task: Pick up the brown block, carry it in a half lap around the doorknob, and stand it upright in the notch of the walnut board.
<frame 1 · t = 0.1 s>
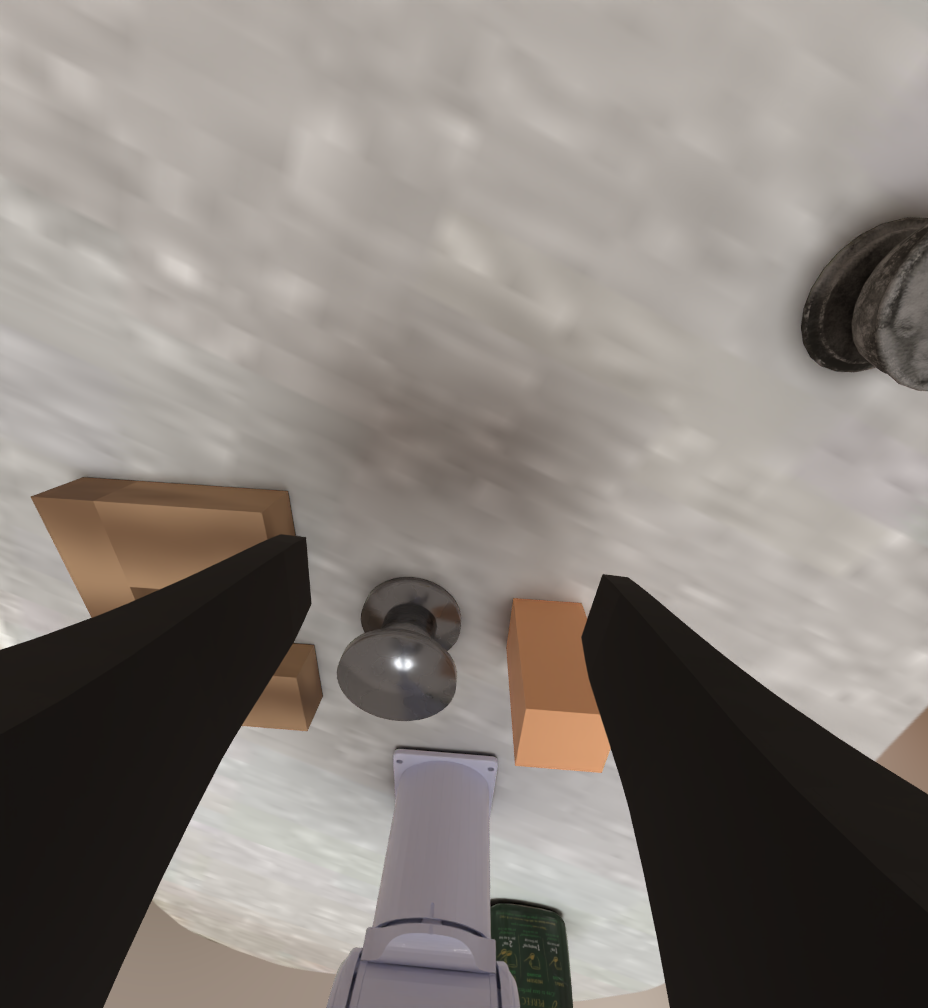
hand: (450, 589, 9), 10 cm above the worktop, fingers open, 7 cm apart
notched board: (220, 602, 23), on the worktop
brown block: (542, 626, 22), on the worktop
salt shaker: (870, 301, 15), on the worktop
doorknob: (412, 617, 23), on the worktop
coffee jar: (518, 913, 41), on the worktop
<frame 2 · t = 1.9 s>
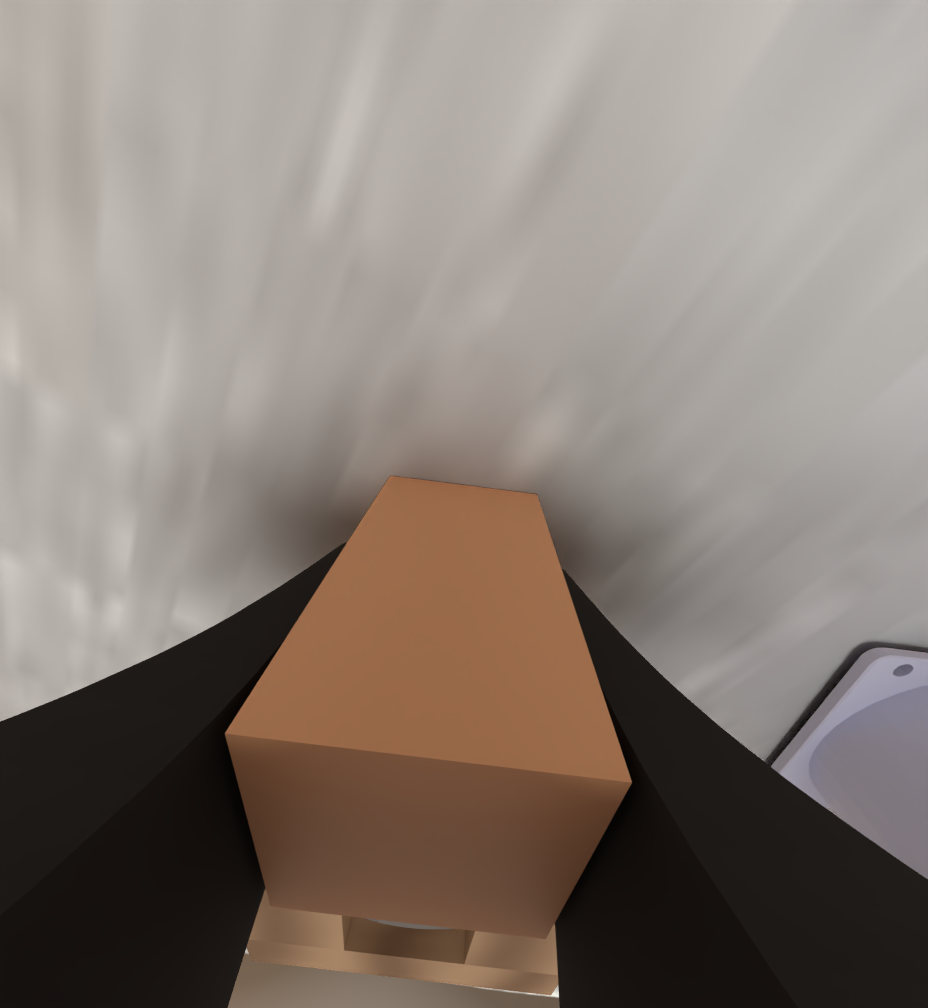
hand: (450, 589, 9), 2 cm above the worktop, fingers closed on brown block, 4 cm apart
notched board: (415, 867, 19), on the worktop
brown block: (455, 547, 11), on the worktop, touching gripper
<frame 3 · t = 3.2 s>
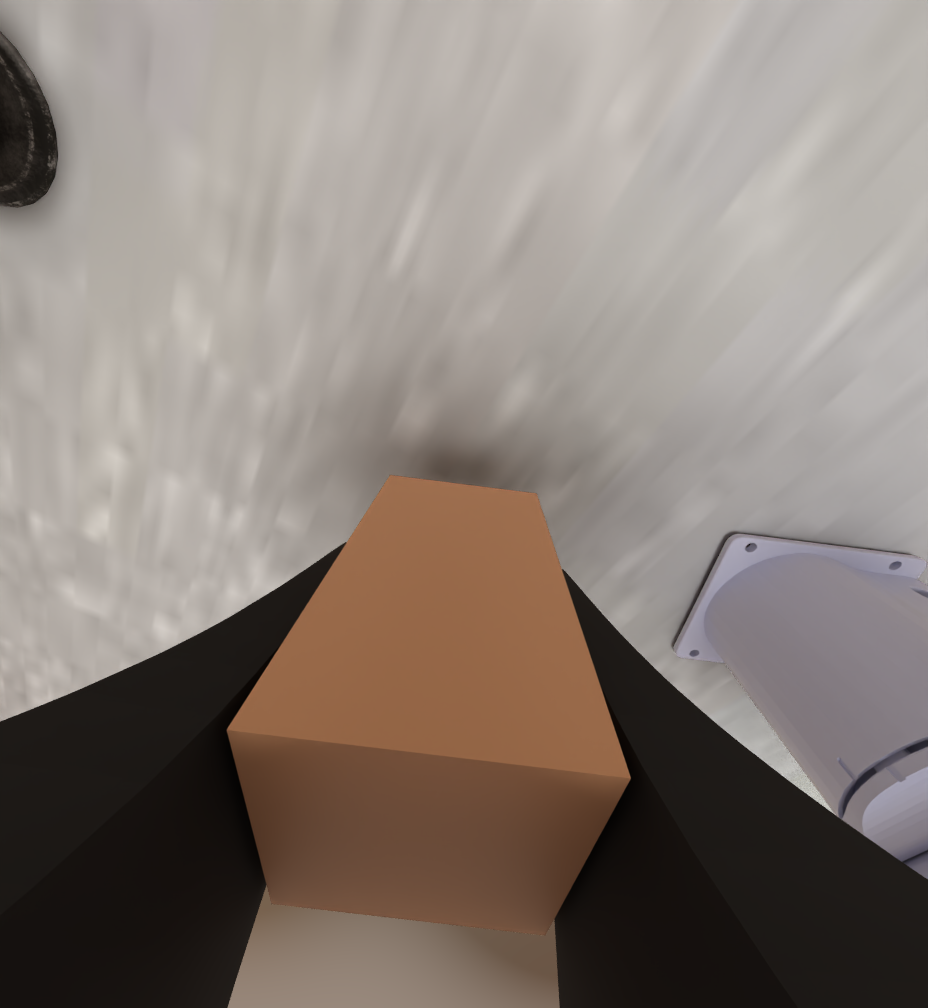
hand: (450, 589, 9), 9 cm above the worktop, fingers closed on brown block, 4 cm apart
brown block: (455, 546, 11), point 7 cm above the worktop, touching gripper
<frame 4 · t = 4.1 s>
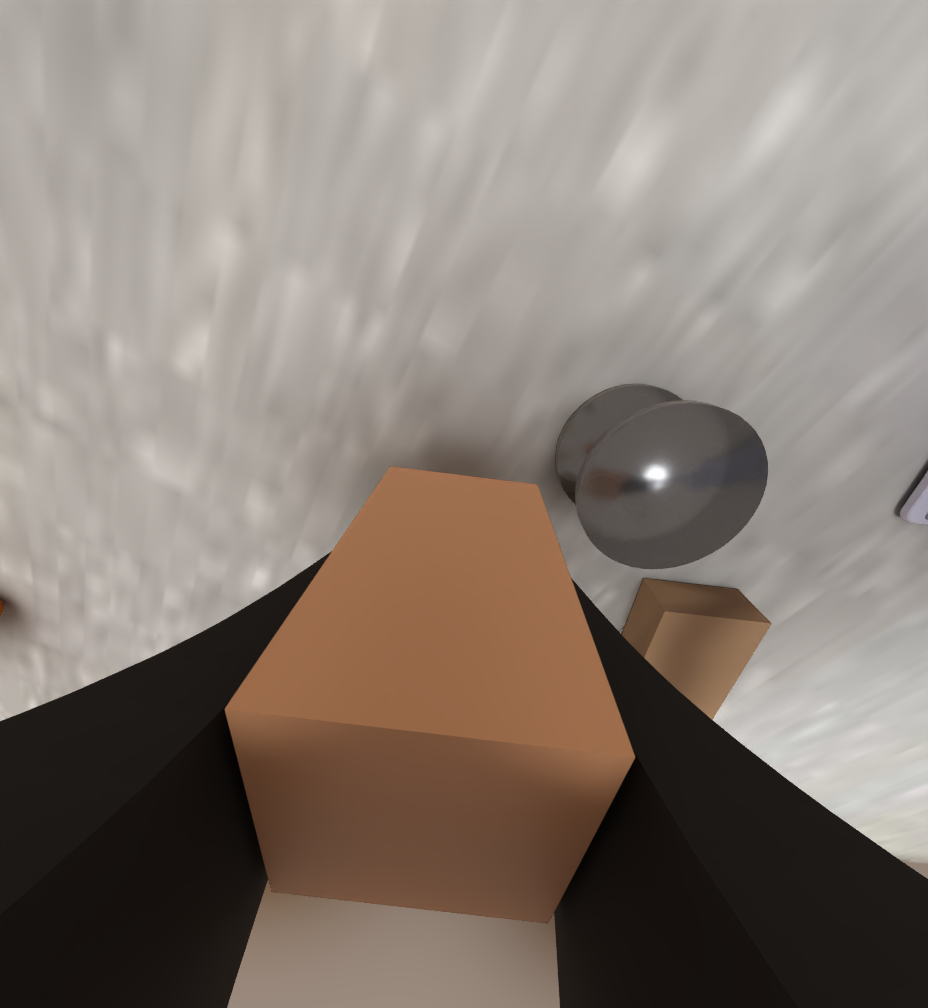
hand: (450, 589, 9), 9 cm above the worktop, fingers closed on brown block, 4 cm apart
notched board: (563, 647, 22), on the worktop
brown block: (456, 538, 11), point 7 cm above the worktop, touching gripper
carrot: (5, 599, 22), on the worktop
doorknob: (622, 453, 16), on the worktop
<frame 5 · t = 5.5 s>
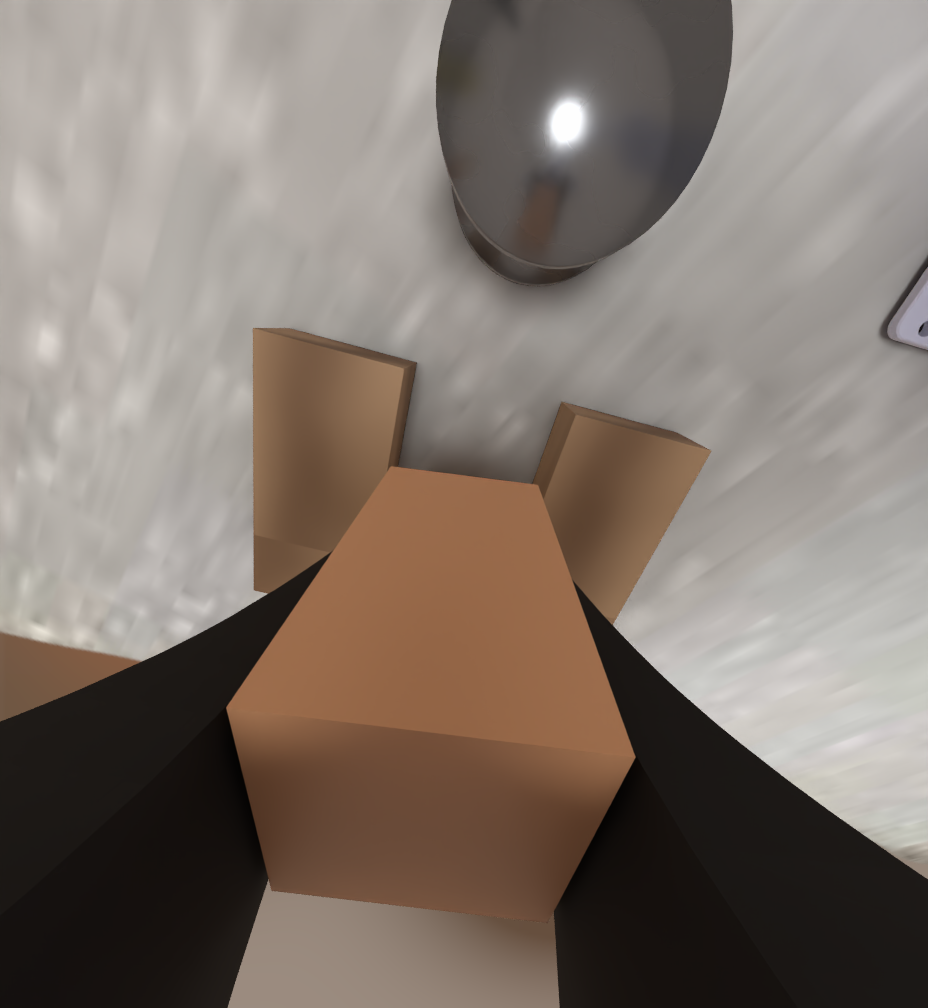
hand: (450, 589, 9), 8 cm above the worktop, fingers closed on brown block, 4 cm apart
notched board: (457, 502, 17), on the worktop
brown block: (456, 538, 11), point 6 cm above the worktop, touching gripper
doorknob: (545, 178, 12), on the worktop
when the fingers open (4 cm above the worktop, at t = 6.6 s): brown block drops 2 cm, resting in notched board.
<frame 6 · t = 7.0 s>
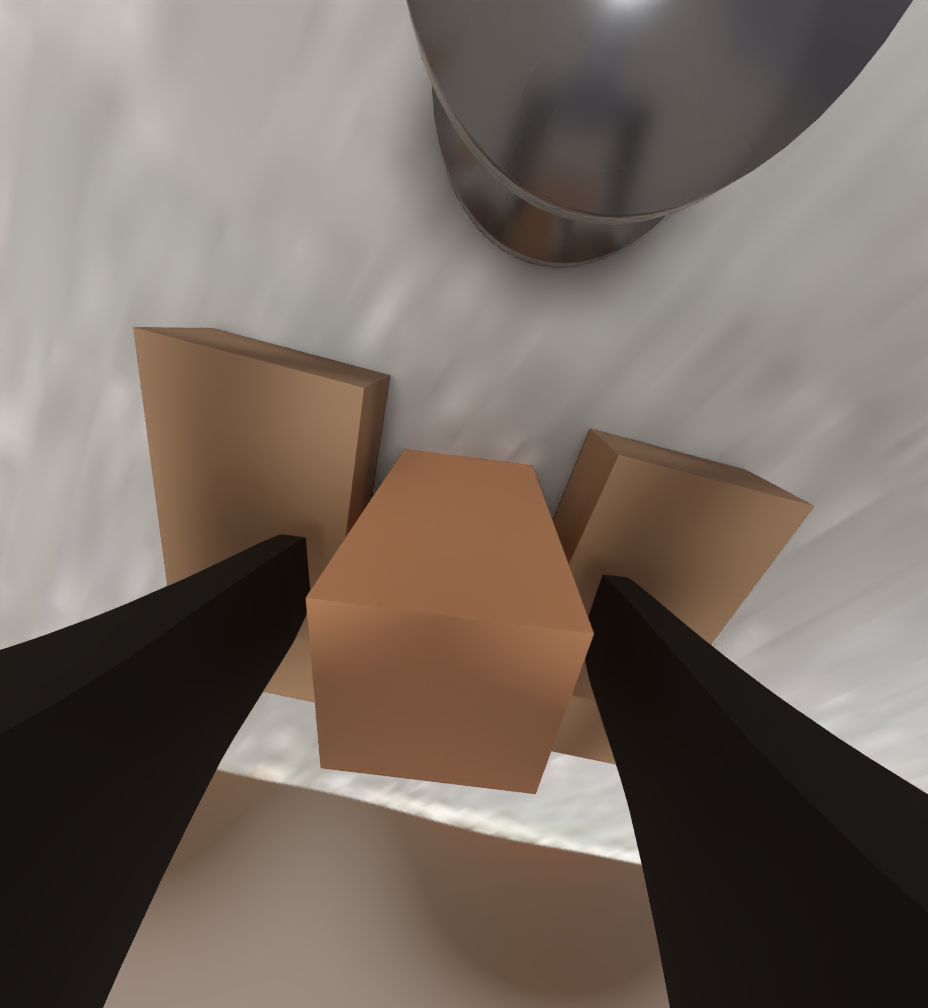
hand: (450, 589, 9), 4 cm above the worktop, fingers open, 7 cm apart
notched board: (449, 556, 13), on the worktop
brown block: (461, 514, 12), resting in notched board
doorknob: (575, 100, 8), on the worktop
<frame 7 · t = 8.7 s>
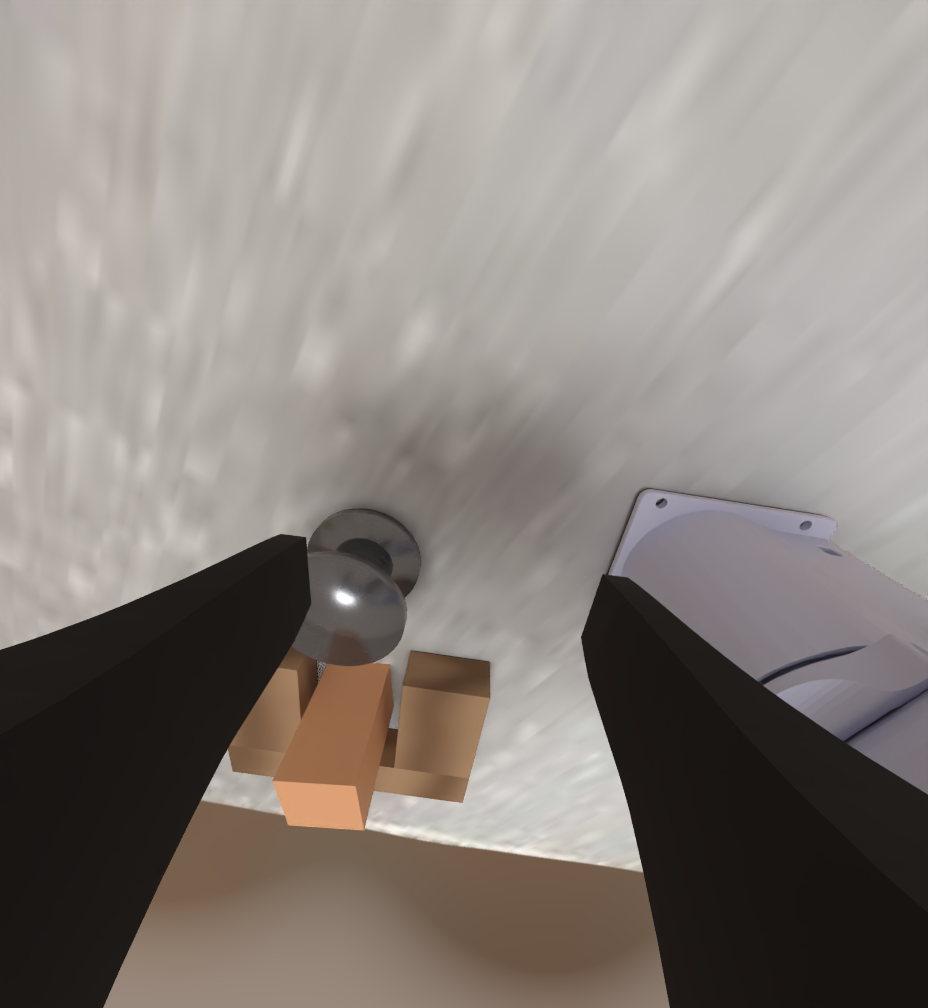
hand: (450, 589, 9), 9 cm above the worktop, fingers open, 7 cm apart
notched board: (361, 701, 25), on the worktop
brown block: (362, 684, 25), resting in notched board
doorknob: (366, 557, 20), on the worktop
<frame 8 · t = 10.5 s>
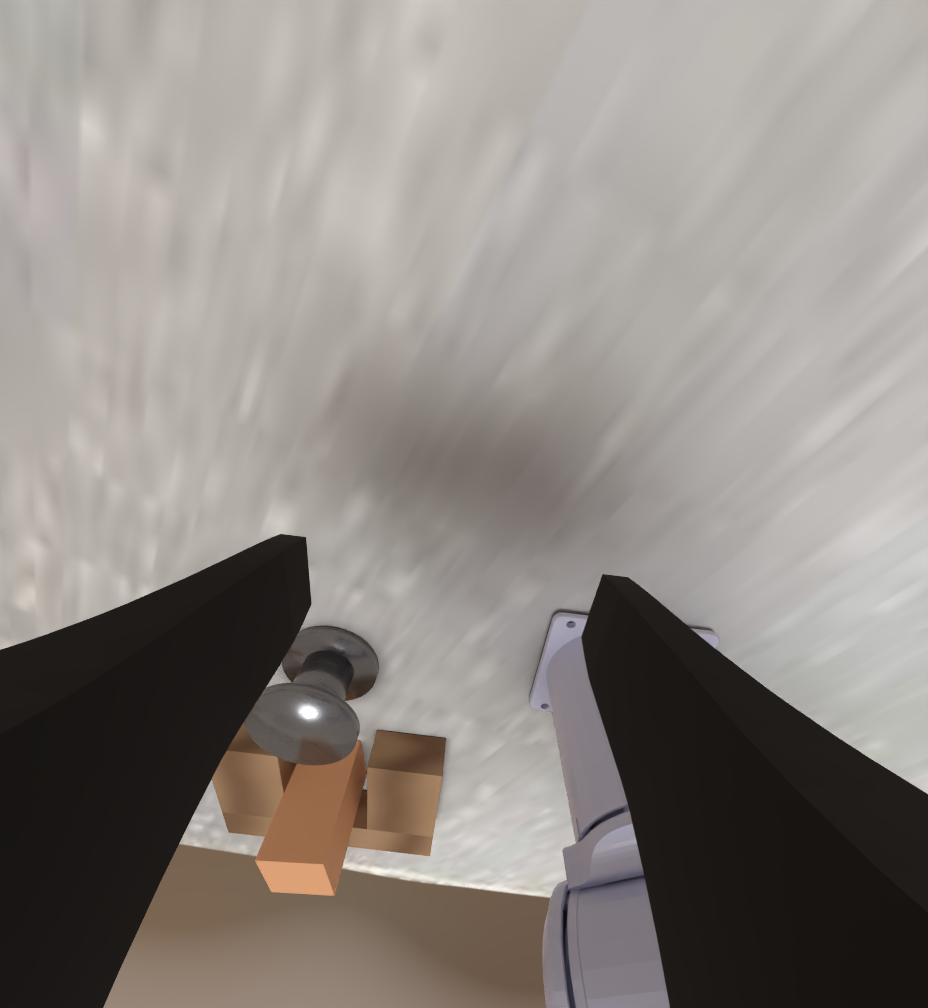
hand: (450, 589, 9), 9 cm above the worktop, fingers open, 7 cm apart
notched board: (338, 769, 29), on the worktop
brown block: (338, 755, 28), resting in notched board
doorknob: (332, 661, 24), on the worktop
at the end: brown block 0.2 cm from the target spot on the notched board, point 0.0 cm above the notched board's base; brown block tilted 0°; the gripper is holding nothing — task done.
